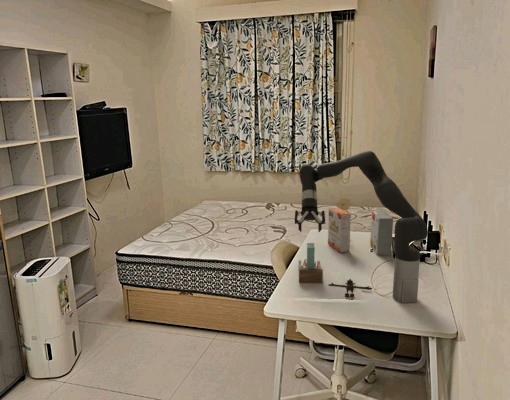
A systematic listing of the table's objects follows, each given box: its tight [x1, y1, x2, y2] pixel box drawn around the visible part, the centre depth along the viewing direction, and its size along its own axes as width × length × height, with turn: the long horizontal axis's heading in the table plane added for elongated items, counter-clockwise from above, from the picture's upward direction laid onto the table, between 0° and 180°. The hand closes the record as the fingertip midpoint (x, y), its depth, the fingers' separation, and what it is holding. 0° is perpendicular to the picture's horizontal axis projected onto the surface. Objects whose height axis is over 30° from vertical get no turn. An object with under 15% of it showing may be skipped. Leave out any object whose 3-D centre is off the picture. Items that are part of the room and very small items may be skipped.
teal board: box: [306, 242, 316, 269], centre depth 188 cm, size 6×3×15 cm, turn 175°
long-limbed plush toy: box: [328, 278, 373, 301], centre depth 177 cm, size 18×4×14 cm
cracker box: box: [327, 207, 352, 253], centre depth 228 cm, size 14×6×21 cm, turn 17°
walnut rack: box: [298, 259, 324, 284], centre depth 193 cm, size 20×10×7 cm, turn 175°
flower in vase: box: [335, 196, 352, 213], centre depth 241 cm, size 13×11×25 cm
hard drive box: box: [369, 209, 394, 256], centre depth 224 cm, size 16×8×20 cm, turn 178°
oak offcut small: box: [303, 258, 317, 267], centre depth 198 cm, size 5×4×2 cm
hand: (309, 231), depth 197 cm, fingers open, 8 cm apart
